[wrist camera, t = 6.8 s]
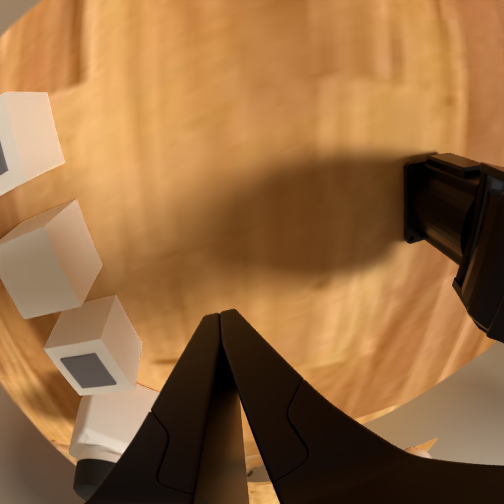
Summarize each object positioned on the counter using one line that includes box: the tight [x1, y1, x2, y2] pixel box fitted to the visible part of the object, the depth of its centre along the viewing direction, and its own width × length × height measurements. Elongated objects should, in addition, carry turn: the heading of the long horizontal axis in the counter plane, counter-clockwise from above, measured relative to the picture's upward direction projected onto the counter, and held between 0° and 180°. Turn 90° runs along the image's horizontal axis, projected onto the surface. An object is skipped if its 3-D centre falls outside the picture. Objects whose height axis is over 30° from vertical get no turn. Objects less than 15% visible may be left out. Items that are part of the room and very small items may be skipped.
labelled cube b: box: [0, 92, 65, 196], centre depth 12 cm, size 5×5×5 cm
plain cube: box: [0, 199, 103, 320], centre depth 16 cm, size 5×5×5 cm
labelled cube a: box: [43, 294, 143, 396], centre depth 19 cm, size 5×5×5 cm
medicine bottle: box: [69, 383, 160, 501], centre depth 20 cm, size 7×7×12 cm
